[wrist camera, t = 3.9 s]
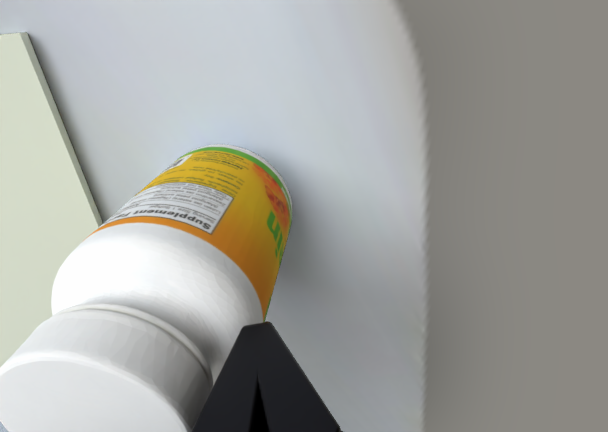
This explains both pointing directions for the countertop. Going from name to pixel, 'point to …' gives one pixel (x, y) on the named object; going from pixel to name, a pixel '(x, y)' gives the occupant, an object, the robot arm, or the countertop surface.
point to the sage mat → (34, 194)
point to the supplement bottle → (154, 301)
